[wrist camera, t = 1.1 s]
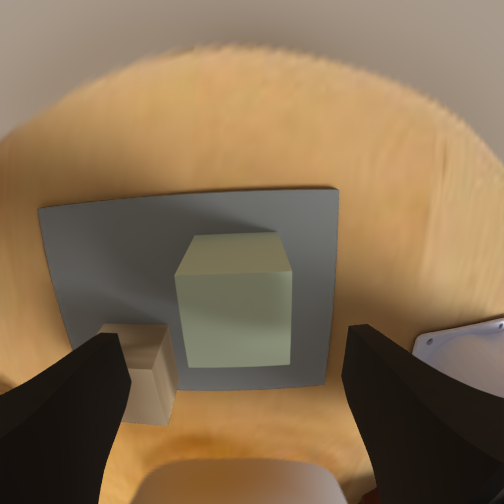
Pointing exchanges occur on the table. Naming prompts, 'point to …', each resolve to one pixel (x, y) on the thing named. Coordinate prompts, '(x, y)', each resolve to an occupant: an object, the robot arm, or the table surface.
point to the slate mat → (169, 258)
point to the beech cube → (148, 371)
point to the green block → (235, 300)
